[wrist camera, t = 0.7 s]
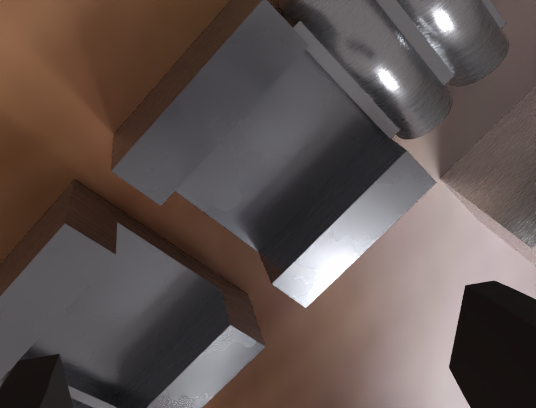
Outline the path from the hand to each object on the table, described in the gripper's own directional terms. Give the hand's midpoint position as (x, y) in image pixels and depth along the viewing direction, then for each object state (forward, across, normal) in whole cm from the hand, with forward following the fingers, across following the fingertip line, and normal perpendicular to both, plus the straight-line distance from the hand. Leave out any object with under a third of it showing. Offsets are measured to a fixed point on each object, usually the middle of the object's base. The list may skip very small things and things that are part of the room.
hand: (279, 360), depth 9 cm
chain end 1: (+10, +5, +7) cm, 13 cm away
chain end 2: (+10, -4, -2) cm, 11 cm away
